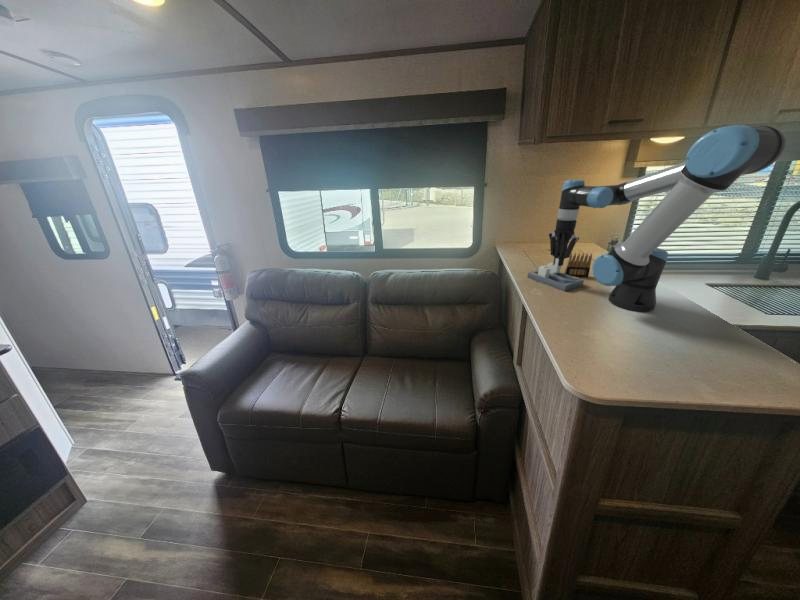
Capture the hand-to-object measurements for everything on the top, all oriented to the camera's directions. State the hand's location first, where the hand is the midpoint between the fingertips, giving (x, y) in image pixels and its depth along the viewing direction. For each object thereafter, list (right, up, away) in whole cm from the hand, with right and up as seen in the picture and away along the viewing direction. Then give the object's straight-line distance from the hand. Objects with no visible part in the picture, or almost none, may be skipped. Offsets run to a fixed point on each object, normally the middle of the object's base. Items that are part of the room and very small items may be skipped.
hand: (556, 271), depth 137 cm
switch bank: (+2, -4, +6) cm, 8 cm away
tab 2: (+3, 0, +11) cm, 11 cm away
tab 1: (-3, -2, +7) cm, 8 cm away
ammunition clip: (+16, -1, +12) cm, 20 cm away
